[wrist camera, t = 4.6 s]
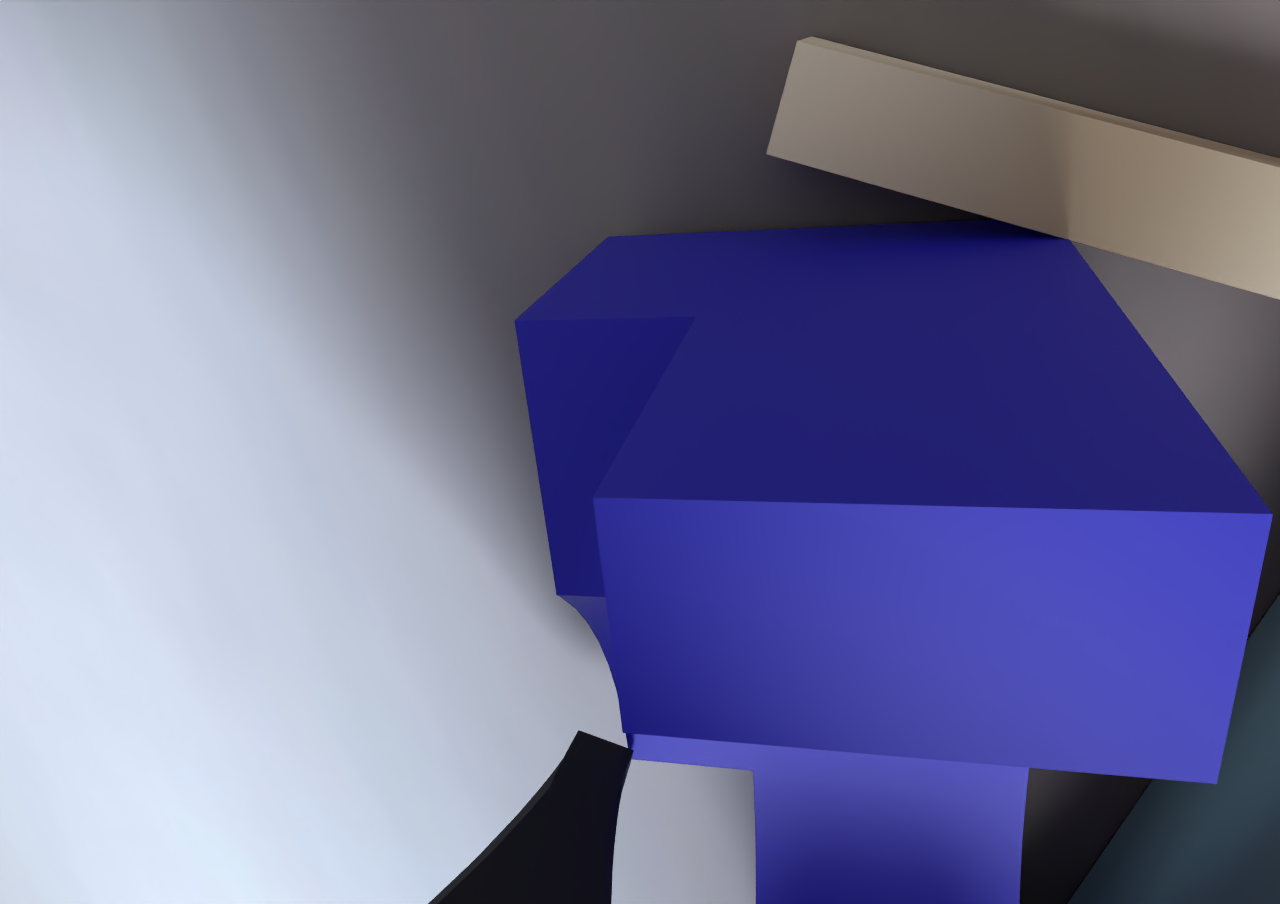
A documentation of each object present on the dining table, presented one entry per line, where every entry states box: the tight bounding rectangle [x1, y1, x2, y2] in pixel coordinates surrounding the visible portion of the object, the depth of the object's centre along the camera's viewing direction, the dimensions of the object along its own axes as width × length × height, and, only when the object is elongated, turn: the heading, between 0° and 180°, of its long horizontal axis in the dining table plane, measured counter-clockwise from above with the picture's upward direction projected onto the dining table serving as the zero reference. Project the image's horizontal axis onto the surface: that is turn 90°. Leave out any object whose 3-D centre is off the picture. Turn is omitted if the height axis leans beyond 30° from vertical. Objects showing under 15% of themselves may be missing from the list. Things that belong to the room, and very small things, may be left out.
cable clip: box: [515, 219, 1273, 904], centre depth 10 cm, size 12×4×6 cm, turn 5°
